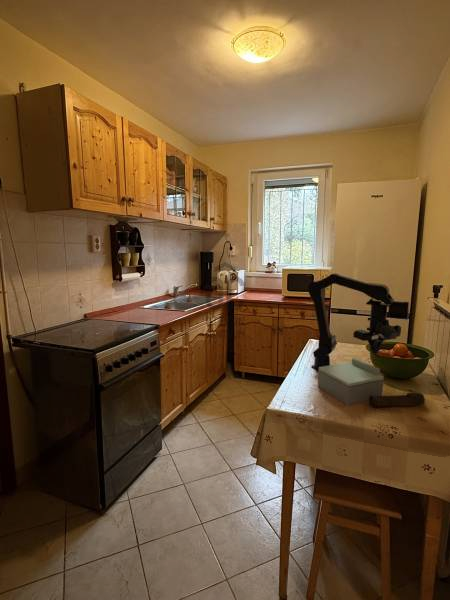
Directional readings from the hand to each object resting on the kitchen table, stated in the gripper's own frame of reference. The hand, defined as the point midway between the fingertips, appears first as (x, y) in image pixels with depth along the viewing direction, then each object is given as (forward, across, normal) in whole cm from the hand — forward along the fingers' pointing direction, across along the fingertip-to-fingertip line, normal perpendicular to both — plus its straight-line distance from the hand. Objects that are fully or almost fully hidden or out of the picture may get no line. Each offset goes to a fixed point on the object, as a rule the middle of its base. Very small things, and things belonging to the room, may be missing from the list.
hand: (374, 353), depth 128 cm
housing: (+11, -17, -5) cm, 21 cm away
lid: (+4, -17, -5) cm, 18 cm away
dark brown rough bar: (+11, -8, -19) cm, 24 cm away
